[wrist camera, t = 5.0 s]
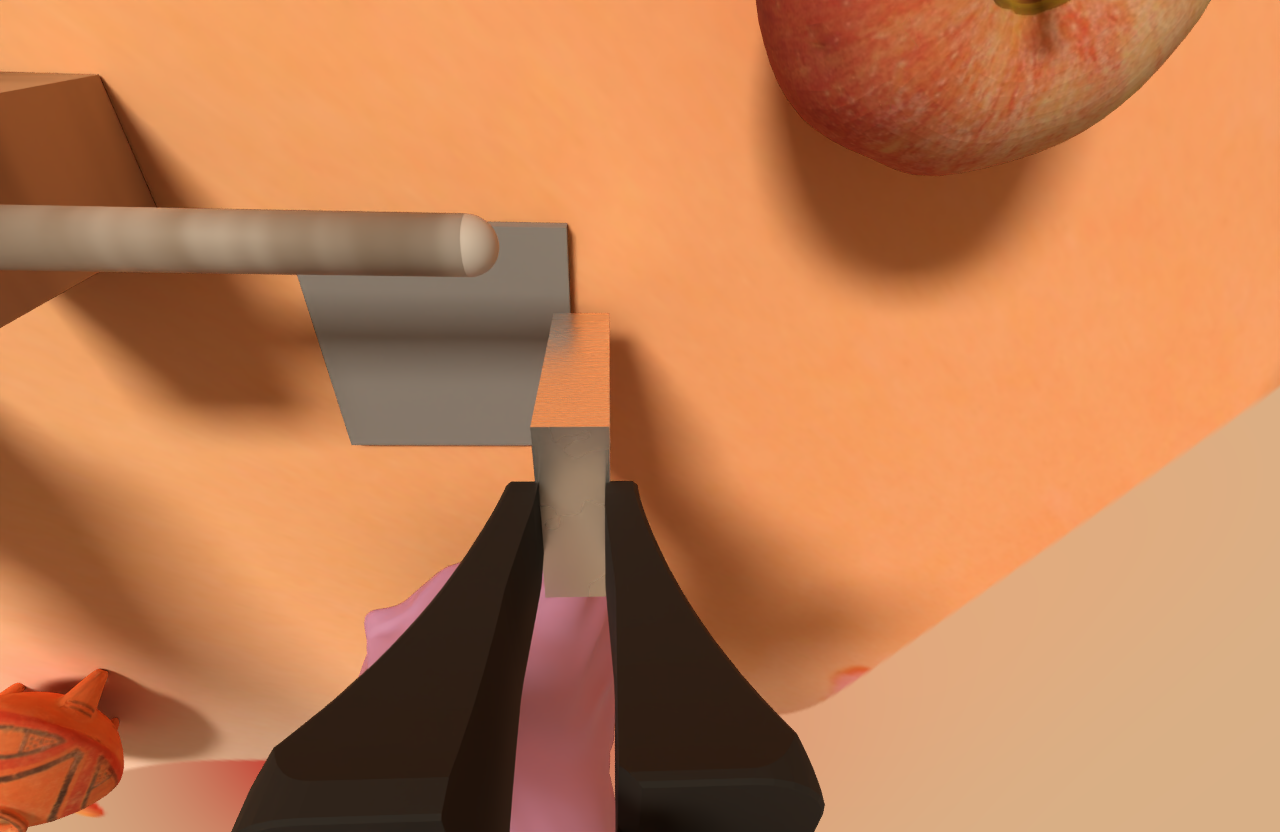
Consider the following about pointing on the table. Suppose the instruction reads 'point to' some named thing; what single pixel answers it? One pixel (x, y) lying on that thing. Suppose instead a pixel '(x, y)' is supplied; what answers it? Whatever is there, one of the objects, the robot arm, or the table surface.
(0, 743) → the pot
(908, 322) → the table surface
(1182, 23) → the apple
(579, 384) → the link
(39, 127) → the stand
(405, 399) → the mat
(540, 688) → the toy character
